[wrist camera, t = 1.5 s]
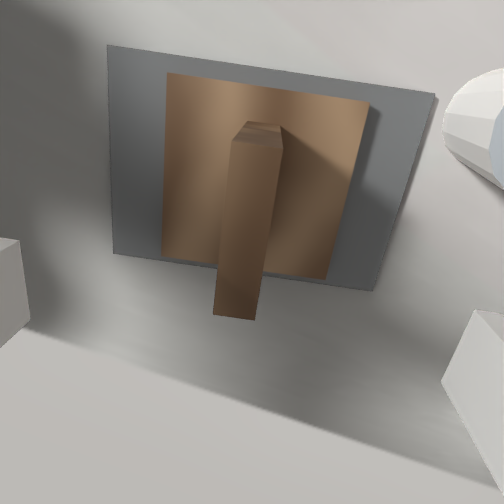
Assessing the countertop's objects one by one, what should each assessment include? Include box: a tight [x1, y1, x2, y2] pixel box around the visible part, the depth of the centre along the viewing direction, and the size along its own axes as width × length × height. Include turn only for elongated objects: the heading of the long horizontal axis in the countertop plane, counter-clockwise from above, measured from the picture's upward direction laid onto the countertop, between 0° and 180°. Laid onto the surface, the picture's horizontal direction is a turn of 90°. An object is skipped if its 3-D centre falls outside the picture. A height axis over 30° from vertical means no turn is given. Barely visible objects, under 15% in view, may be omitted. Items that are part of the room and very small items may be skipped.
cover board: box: [161, 72, 370, 320], centre depth 20 cm, size 12×12×10 cm
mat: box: [107, 45, 435, 291], centre depth 25 cm, size 20×14×1 cm
